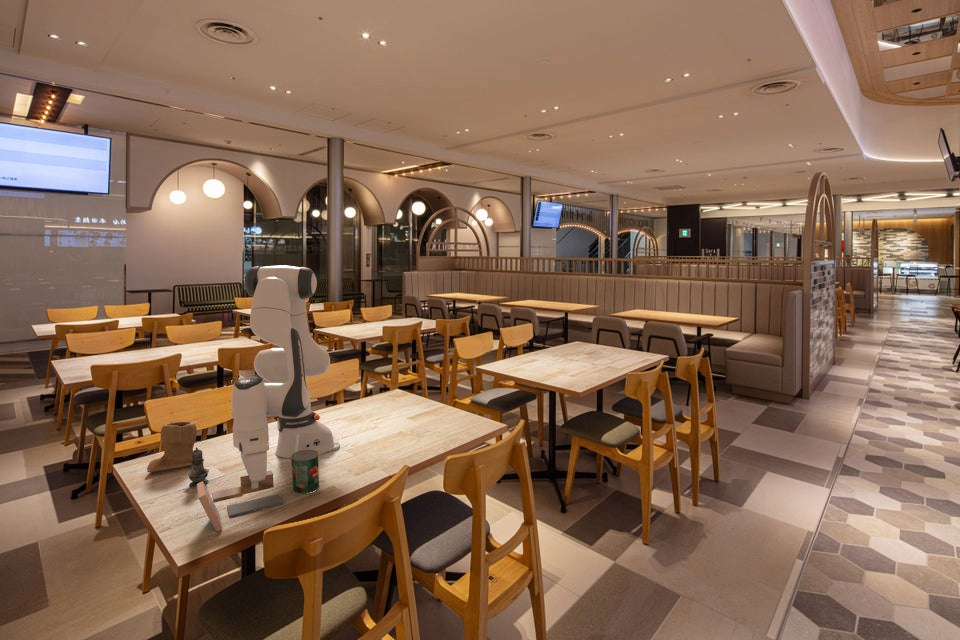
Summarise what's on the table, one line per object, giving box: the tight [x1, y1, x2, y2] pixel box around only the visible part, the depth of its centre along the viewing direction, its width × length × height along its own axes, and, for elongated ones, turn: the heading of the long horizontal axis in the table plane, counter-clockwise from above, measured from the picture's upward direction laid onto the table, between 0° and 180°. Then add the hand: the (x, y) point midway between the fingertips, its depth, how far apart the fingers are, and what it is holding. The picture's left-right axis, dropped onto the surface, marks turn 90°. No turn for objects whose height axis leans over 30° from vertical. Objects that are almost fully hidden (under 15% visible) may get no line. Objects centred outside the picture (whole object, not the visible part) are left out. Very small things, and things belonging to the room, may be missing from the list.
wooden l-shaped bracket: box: [211, 470, 275, 504], centre depth 134 cm, size 15×4×4 cm, turn 123°
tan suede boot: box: [146, 421, 197, 473], centre depth 166 cm, size 15×12×15 cm
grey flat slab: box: [227, 493, 284, 518], centre depth 141 cm, size 14×6×1 cm, turn 123°
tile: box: [196, 481, 223, 532], centre depth 130 cm, size 2×9×11 cm, turn 31°
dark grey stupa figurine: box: [187, 447, 210, 488], centre depth 153 cm, size 6×6×12 cm
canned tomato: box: [290, 450, 320, 495], centre depth 151 cm, size 8×8×11 cm
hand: (253, 484), depth 135 cm, fingers closed on wooden l-shaped bracket, 3 cm apart
